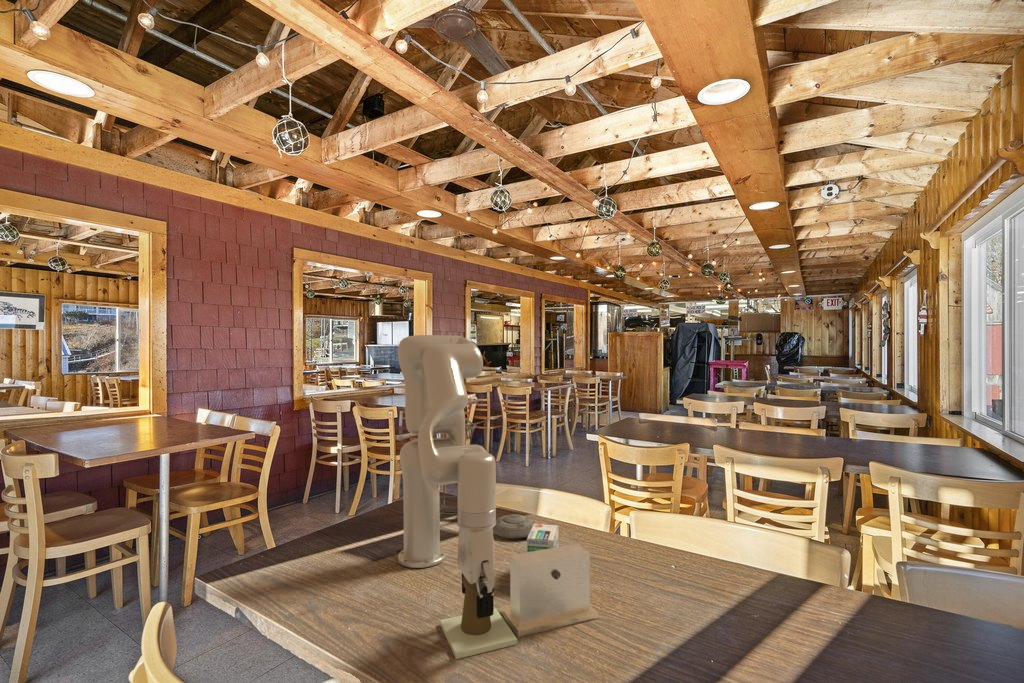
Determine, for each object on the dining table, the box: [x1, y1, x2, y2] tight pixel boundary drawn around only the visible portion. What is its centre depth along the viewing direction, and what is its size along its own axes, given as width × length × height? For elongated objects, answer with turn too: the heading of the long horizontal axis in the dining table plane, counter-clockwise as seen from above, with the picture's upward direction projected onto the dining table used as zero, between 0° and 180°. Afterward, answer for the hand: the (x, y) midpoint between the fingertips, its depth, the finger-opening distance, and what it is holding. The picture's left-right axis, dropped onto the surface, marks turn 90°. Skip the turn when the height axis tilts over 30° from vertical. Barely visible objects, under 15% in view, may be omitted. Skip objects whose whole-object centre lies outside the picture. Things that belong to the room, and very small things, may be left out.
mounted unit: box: [499, 543, 599, 638], centre depth 104 cm, size 10×18×13 cm, turn 112°
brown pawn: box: [461, 576, 491, 635], centre depth 98 cm, size 6×6×11 cm
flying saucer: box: [492, 513, 538, 539], centre depth 151 cm, size 15×15×6 cm
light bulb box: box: [526, 523, 560, 552], centre depth 123 cm, size 11×7×11 cm, turn 168°
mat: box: [439, 607, 518, 660], centre depth 97 cm, size 12×12×1 cm
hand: (477, 603), depth 98 cm, fingers open, 9 cm apart
